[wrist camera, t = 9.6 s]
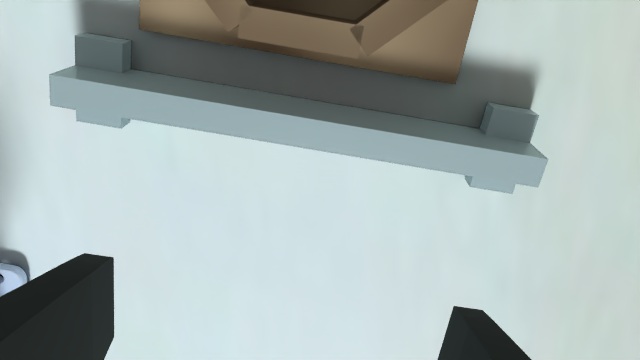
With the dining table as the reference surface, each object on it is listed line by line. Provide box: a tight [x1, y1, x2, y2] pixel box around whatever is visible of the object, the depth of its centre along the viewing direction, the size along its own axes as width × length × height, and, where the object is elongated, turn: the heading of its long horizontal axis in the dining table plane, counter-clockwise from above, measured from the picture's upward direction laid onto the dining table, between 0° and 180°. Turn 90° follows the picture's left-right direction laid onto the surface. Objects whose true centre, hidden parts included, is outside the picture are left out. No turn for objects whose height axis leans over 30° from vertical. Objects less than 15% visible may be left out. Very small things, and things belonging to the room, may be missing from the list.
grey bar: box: [49, 33, 548, 194], centre depth 17 cm, size 16×3×2 cm, turn 81°
